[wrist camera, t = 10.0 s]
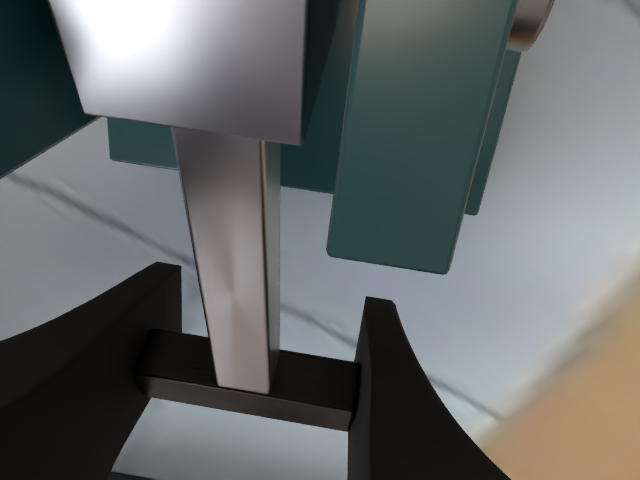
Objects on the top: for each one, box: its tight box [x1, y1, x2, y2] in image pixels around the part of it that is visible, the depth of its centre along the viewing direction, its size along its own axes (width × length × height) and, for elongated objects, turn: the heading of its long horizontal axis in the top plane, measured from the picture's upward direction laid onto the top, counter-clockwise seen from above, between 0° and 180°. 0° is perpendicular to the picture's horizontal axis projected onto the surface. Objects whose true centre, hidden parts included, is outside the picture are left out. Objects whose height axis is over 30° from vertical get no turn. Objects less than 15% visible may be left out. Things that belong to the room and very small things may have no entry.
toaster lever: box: [46, 0, 360, 432], centre depth 8 cm, size 11×4×2 cm, turn 173°
